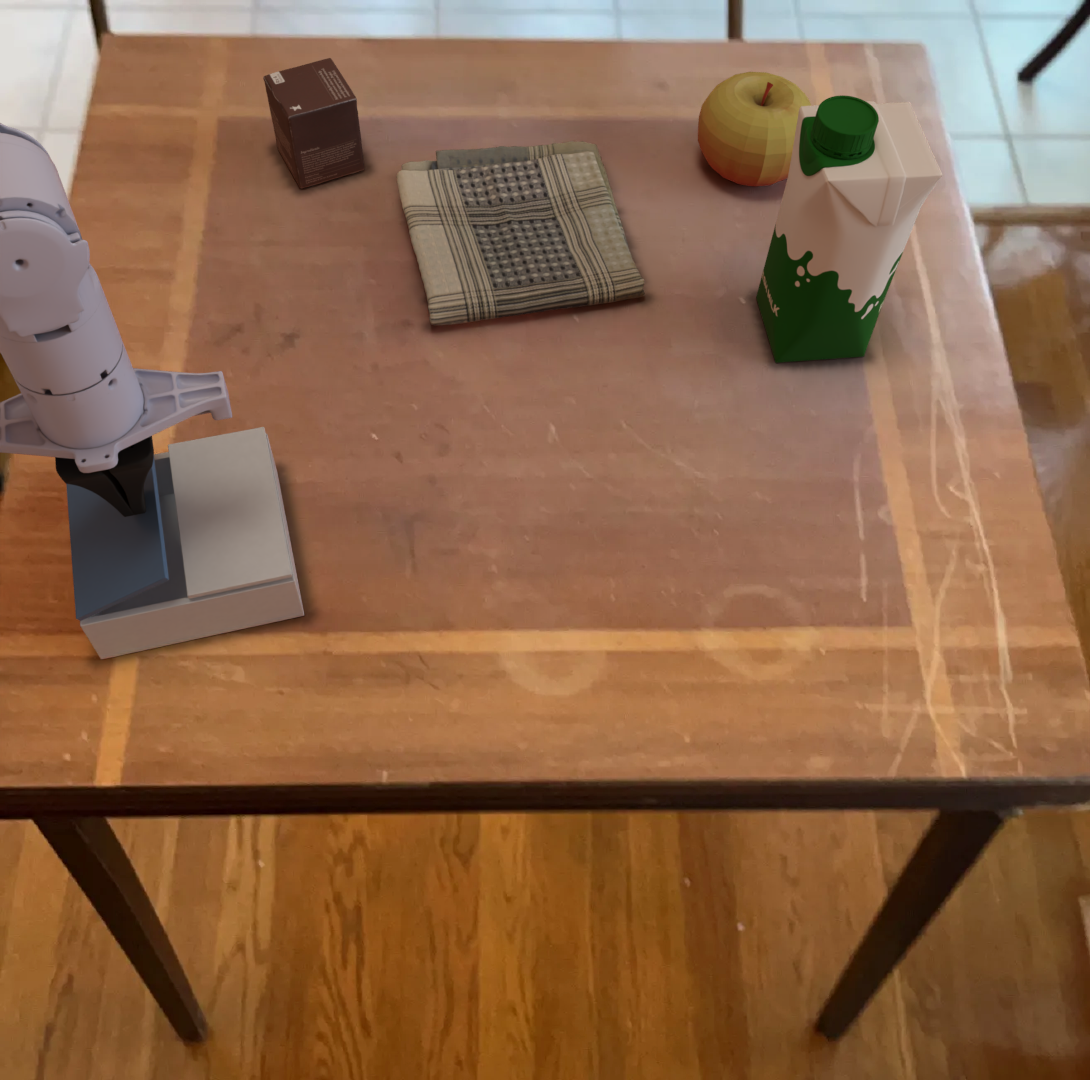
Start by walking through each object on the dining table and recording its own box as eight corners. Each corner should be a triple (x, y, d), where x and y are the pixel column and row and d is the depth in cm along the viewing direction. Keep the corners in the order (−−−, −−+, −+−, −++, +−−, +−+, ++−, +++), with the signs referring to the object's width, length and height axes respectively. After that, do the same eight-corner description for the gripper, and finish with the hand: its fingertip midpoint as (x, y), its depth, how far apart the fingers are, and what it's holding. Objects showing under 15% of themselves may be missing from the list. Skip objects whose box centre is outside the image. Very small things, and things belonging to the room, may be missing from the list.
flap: (80, 621, 71) (75, 619, 70) (68, 466, 77) (64, 463, 76) (169, 579, 70) (165, 577, 69) (150, 425, 76) (146, 422, 75)
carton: (100, 659, 75) (76, 619, 70) (88, 508, 81) (64, 462, 76) (304, 616, 77) (293, 574, 73) (277, 472, 83) (265, 425, 79)
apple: (802, 134, 105) (823, 55, 98) (806, 209, 100) (828, 131, 93) (693, 125, 105) (707, 45, 99) (691, 198, 100) (705, 120, 93)
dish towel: (650, 304, 93) (655, 274, 91) (427, 335, 91) (425, 305, 88) (594, 151, 103) (597, 120, 100) (391, 175, 100) (388, 144, 98)
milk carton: (742, 290, 94) (796, 73, 78) (850, 283, 95) (927, 67, 79) (766, 373, 90) (829, 161, 73) (880, 365, 91) (968, 154, 74)
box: (366, 172, 100) (358, 99, 94) (299, 191, 99) (286, 118, 93) (341, 129, 103) (331, 55, 97) (275, 147, 102) (261, 73, 95)
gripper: (-83, 439, 57) (12, 581, 69) (217, 385, 60) (261, 531, 71) (-82, 334, 61) (8, 485, 72) (201, 288, 63) (245, 441, 75)
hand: (133, 502), depth 72 cm, fingers closed
